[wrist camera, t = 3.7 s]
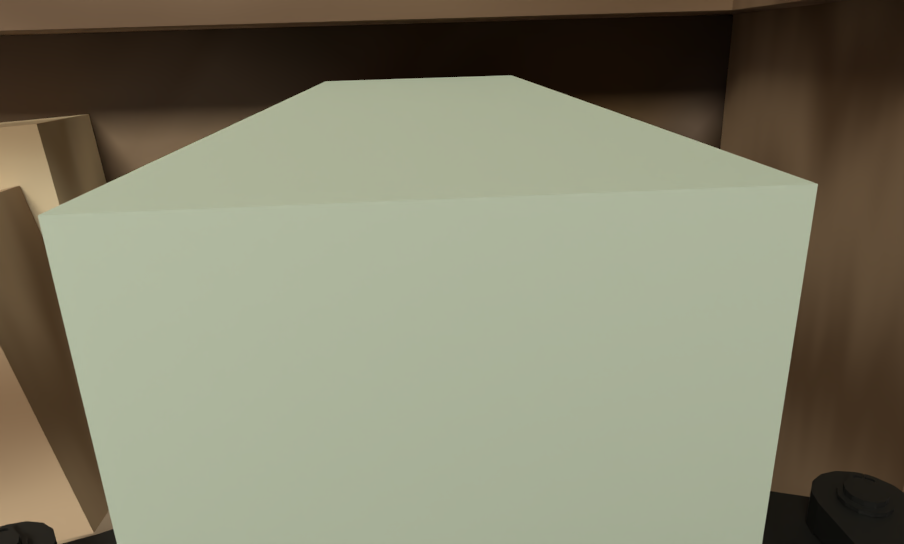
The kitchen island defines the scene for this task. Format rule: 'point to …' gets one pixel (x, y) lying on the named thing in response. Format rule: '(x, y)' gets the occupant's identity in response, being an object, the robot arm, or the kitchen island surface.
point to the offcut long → (51, 174)
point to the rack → (743, 133)
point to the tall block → (435, 324)
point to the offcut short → (40, 392)
